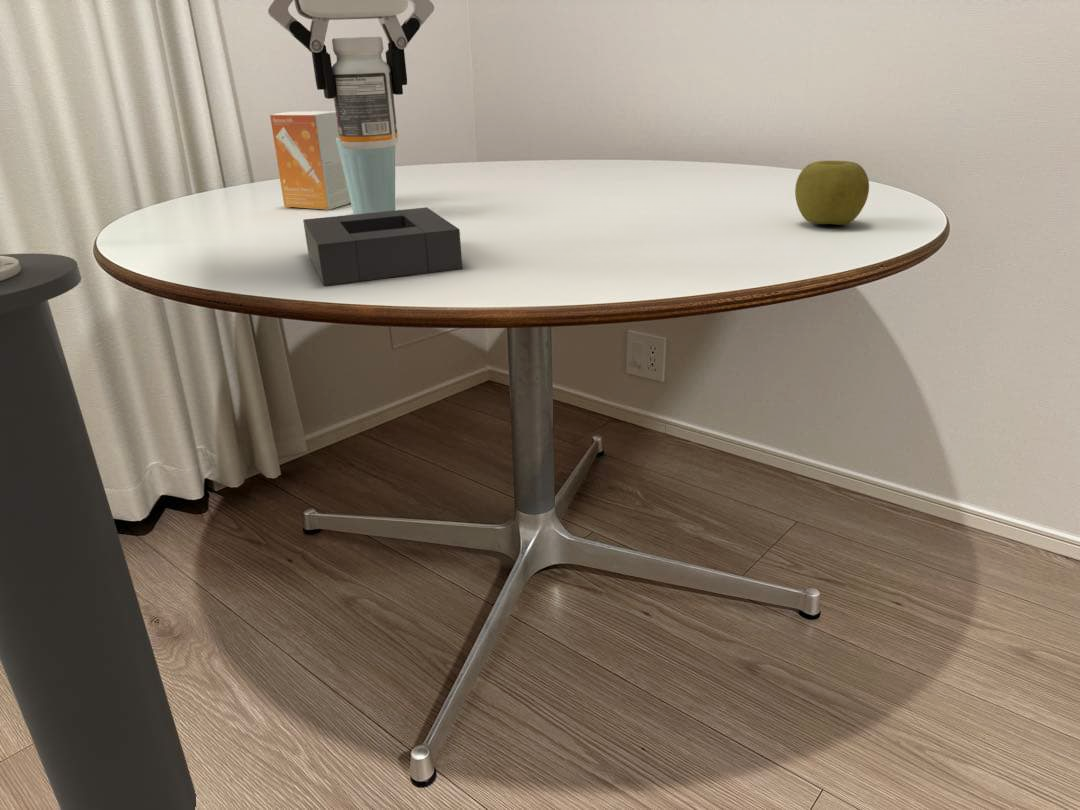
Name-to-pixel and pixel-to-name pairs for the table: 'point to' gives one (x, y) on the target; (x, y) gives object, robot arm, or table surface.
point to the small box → (309, 159)
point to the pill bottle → (363, 94)
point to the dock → (381, 245)
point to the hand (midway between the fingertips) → (363, 94)
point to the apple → (831, 192)
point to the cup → (369, 178)
